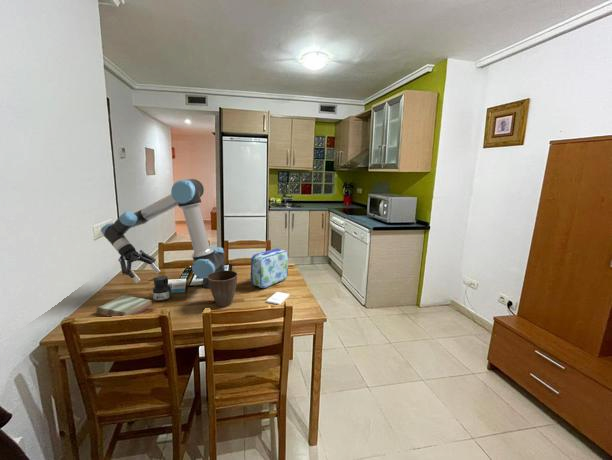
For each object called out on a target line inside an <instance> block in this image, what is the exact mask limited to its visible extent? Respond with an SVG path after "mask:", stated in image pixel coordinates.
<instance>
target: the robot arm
mask: <svg viewBox="0 0 612 460" xmlns="http://www.w3.org/2000/svg"><path fill="white" fill-rule="evenodd" d="M204 192H205V188H204V185H203V183H202V182H201V181H200V180H197V179H195V178H187V179H180V180H178V181H176V182H175V183H173V185H172V186H171V190H170V193H169V195H167V196H165V197H162V198H161V199H159V200H157V201H155V202H153V203H151V204H149V205H147V206H145V207H142V208H141V209H140V210H138V211H136V212H132V211H129V210H128V211H124V212H123V213H122V214H121V215H120V216H119V217H118V218H117V219H115V221H114V223H112V222H108V223H106V224H105V225H103V226H102V227H101V228H100V229H101V230H100V232H101V234H102V235H103V237H104V238H105V239H106V240H107V241H108V242H109V243H110V244H111V246H112V247H113V248H114V249H115V250H116V251H117V252H118V255H120V257H119V258H118V262H119V264H120V268H121V273H122V275H126V276H129V277H130V278H131V279H132V280H133V281H135V283H136V284H138V283H139V282H140V281H141V279H140V277H139V276H138V275H137V274H136V272H135V271H134V270H133V269H132V263H134V262H142V263H144V264H147V265H149V267H150V268H151V269H152V270H153V272H155V274H156V275H158V274H159V273H160V272H161V270H160V269H159V267H158V265H157V263H155V262H156V261H157V259H156V258H154V257H153V256H152V255H149V254H148V253H146V252H144V251H143V249H140V250H139V251H137V250H136V248H135V246H134V245H133V244H132V243H131V241H129V240H128V238H127V237H126V236H125V234H126V233H127V232H128V231H129V230H130V229H132V228H135V227H137V226H141V225H144V224H146V223H147V222H149V221H150V220H153V219H155V218H156V217H159V216H161V215H163V214H164V213H166V212H169V211H170V210H173V209H175V208H177V207H178V208H179V209H180V210H182V211H183V216H184V218H185V224H186V226H187V230H188V234H189V237H190V241H191V245H192V248H193V253H192V255H191V256H192V261H193V263H192V266H191V270H192V273H193V274H194V275H195V277H197V278H201V279H202V286H203V287H204V288H206V289H207V288H208V289H210V286H209V283H208V278H207V276H208V275H209V274H211V273H213V272H217V271H224V270H225V251H224V248H223V247H219V246H210V242H209V238H208V234H207V231H206V226H205V223H204V219H203V215H202V211H201V207H200V206H201V204H202V199H201V197H202V196H203V195H204Z"/></svg>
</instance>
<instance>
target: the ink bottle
mask: <svg viewBox="0 0 612 460" xmlns="http://www.w3.org/2000/svg"><path fill="white" fill-rule="evenodd" d="M153 285H154V286H152V298H153V301H154V302H160V303H161V302H167V301H168V300H170V299H172V286H171V284H169V278H168V276H167V275H158V276H155V277H154V278H153Z"/></svg>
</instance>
